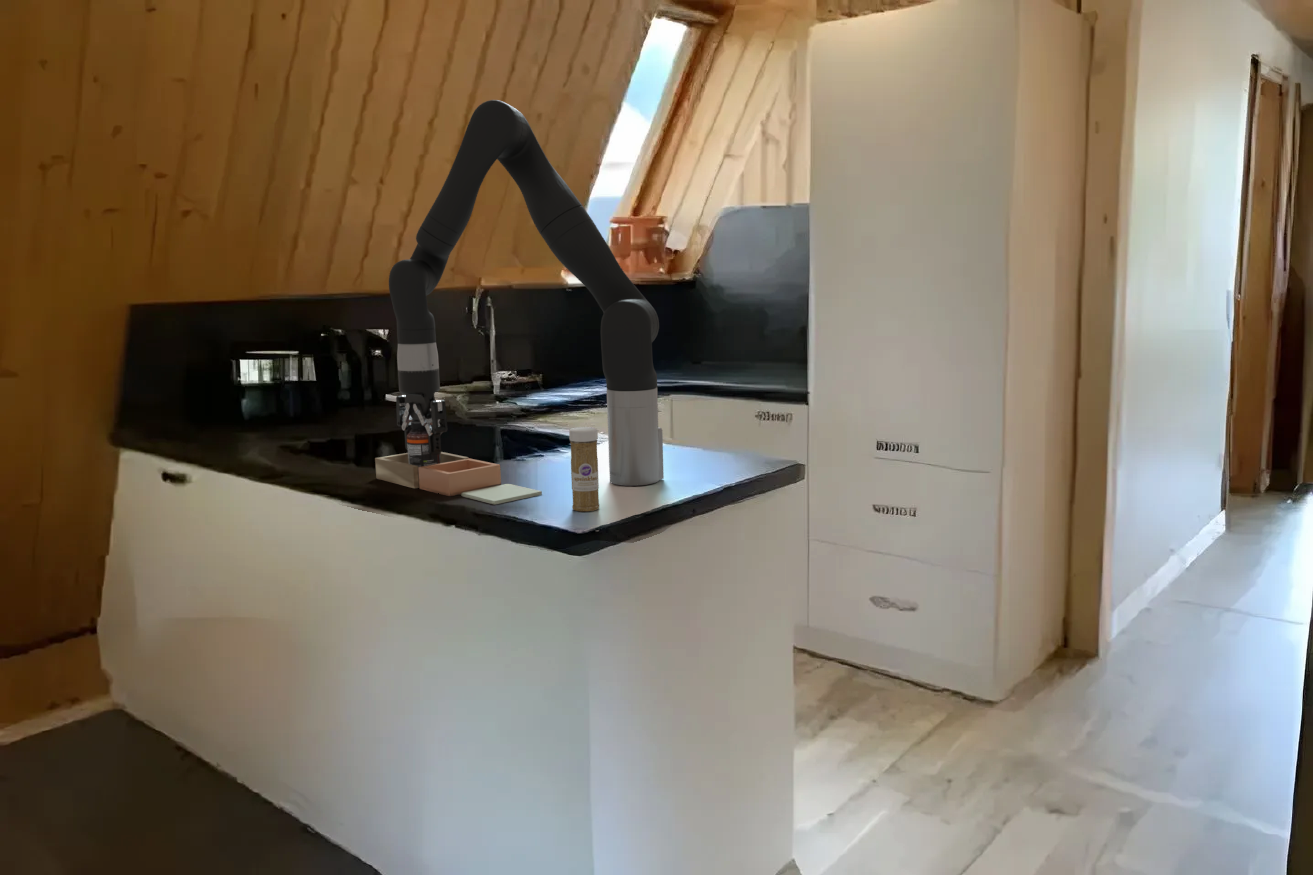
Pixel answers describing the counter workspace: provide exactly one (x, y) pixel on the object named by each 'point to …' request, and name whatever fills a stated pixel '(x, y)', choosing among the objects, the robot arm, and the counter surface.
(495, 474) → the pink open box
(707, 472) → the counter surface
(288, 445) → the counter surface
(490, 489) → the pad
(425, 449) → the supplement bottle
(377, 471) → the beige open box
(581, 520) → the counter surface
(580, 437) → the sprinkles bottle
